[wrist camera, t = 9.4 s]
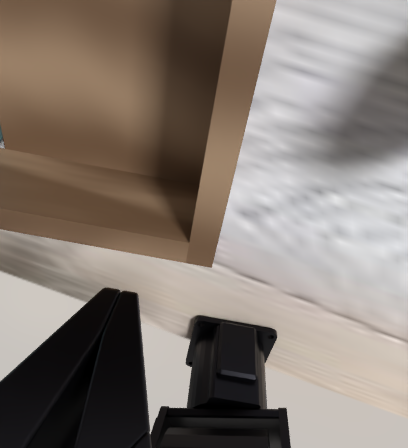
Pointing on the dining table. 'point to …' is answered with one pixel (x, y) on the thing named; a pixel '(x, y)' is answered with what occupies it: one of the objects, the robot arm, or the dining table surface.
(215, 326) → the robot arm
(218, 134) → the crate
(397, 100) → the dining table surface
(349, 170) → the dining table surface
